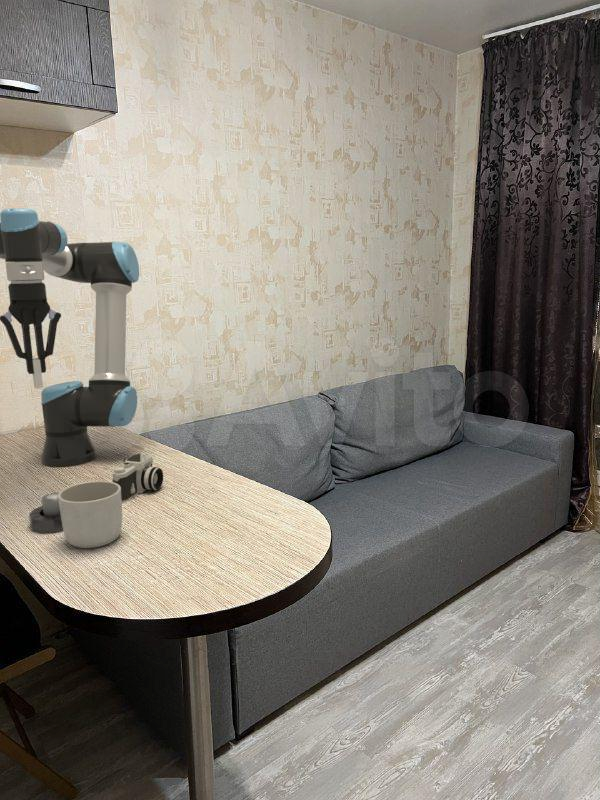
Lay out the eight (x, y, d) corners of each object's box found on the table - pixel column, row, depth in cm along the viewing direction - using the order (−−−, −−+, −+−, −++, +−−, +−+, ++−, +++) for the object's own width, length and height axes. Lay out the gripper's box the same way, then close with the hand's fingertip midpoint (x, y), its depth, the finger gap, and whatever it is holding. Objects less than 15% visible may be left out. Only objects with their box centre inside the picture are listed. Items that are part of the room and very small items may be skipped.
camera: (140, 505, 149) (137, 465, 146) (108, 502, 151) (105, 463, 149) (170, 482, 164) (168, 446, 161) (141, 480, 166) (138, 444, 164)
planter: (76, 527, 137) (71, 480, 134) (132, 527, 136) (128, 480, 134) (53, 553, 124) (47, 502, 122) (114, 553, 124) (109, 502, 122)
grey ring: (27, 520, 141) (26, 508, 140) (75, 510, 146) (74, 498, 145) (35, 537, 132) (34, 524, 131) (86, 525, 137) (85, 513, 137)
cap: (42, 520, 140) (39, 495, 138) (65, 515, 142) (63, 490, 141) (47, 528, 135) (44, 502, 134) (70, 523, 138) (68, 497, 137)
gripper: (-4, 283, 130) (9, 393, 135) (61, 281, 136) (71, 386, 142) (-9, 282, 136) (5, 388, 141) (54, 280, 143) (64, 381, 148)
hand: (38, 387), depth 141 cm, fingers closed
